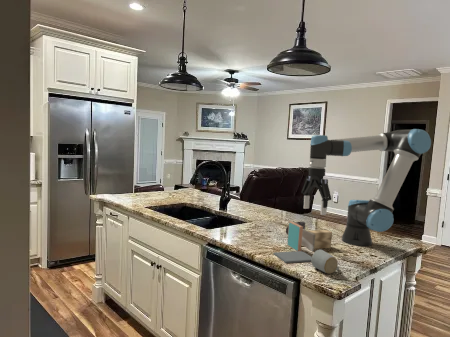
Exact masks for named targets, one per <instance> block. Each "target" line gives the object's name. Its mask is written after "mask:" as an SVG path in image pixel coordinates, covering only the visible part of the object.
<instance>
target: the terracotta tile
mask: <svg viewBox="0 0 450 337" xmlns="http://www.w3.org/2000/svg"><path fill="white" fill-rule="evenodd" d="M288 225H289V229H288V234H287V243H286V244H287V247H289V246H290V247H289V248H291V249H293V250H294V251H302V245H301V244H302V232H303V227H302V226H300V225H298V224H296V223H295V222H294V221H288Z"/></svg>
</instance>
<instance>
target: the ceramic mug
mask: <svg viewBox="0 0 450 337" xmlns="http://www.w3.org/2000/svg"><path fill="white" fill-rule="evenodd" d="M311 257H312V259H311V265H312V267H314V268H315V269H318V270H319V271H321V272H323V273H325V274H328V275H330V274H333V273H335V272H336V271H339V270H340V267H339V266H338V265H339V261H338V260H337V258H336V257H335V256H333V255H331V254H330V253H328V252H327V251H325V250H323V249H316V250H314V251H313V254H312V255H311Z"/></svg>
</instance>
